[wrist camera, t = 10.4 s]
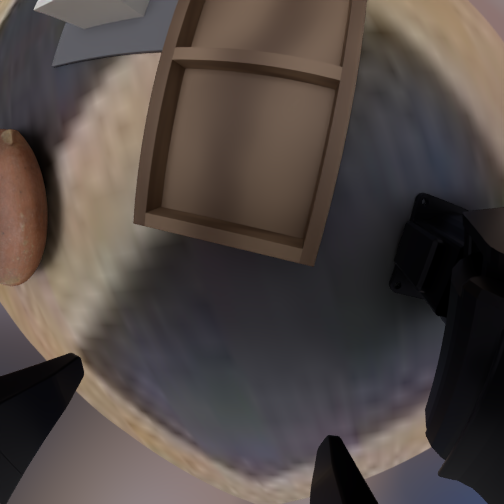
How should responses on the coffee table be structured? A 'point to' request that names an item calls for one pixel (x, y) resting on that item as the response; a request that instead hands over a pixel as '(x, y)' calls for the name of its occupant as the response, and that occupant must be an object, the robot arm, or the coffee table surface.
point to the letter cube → (92, 10)
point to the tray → (250, 122)
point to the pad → (117, 36)
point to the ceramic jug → (20, 209)
